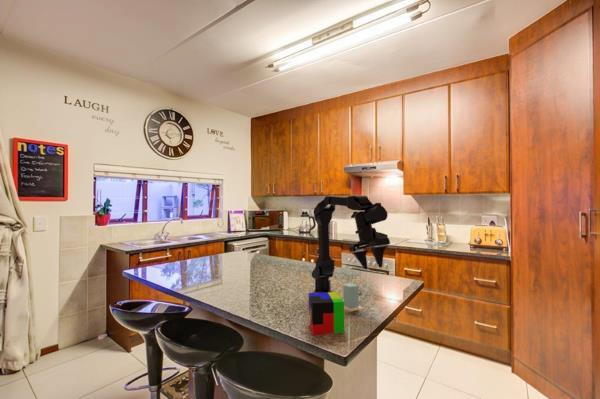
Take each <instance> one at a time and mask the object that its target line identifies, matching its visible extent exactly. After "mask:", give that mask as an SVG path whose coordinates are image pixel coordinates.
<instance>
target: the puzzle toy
mask: <svg viewBox="0 0 600 399" xmlns="http://www.w3.org/2000/svg"><path fill="white" fill-rule="evenodd" d="M308 322H309V326H310V329H311V334H312V336H327V334H341V333H342V334H343V333H346V332H345V314H344V301H343V300H342V297H341V295H340V294H339V292H338V291H337V292H336V291H334V292H332V291H331V292H330V291H329V292H328V293H324V292H309V293H308Z"/></svg>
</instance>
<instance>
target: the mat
mask: <svg viewBox="0 0 600 399" xmlns="http://www.w3.org/2000/svg"><path fill="white" fill-rule="evenodd" d="M341 298H342V297H341ZM342 300H343V301H344V297H343V298H342ZM365 309H366V307H363V306H362V305H359V310H355V311H348V310H346V309H345V308H344V315H345V314H349V313H353V312H357V311H362V310H365Z"/></svg>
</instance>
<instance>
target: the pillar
mask: <svg viewBox="0 0 600 399" xmlns="http://www.w3.org/2000/svg"><path fill="white" fill-rule="evenodd" d="M343 298H344V308H345V309H346V310H348V311H353V312H356V311H355V310H358V311H360V310H359V306H360V305H359V302H360V301H359V285H358V284H355V283H351V282H350V283H346V284H343Z"/></svg>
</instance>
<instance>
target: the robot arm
mask: <svg viewBox="0 0 600 399" xmlns="http://www.w3.org/2000/svg"><path fill="white" fill-rule="evenodd" d="M336 206H342V207H346V208H348V209H349V210H352V211H353V212H352V214H351V216H350V218H351V219H354V221H355V225H356V226H355V227H356V230H355V235H356V234H357V236H358V240H359V241H357V243H353V244H351V245H349V248H348V249H349V253H351V254H352V255H353V256H354V257H355V258H356V259H357V261H358V262H359V263H360V265H361V266H362V267H363V269H364V270H368V261H367V260H368V259H367V254H368V250H367V248H370V250H371V253H372V254H373V257H374V260H375V262H376V264H377V267H378V268H382V267H383V261H384V254H385V250H386V249H387V248H388V247H389V245H391V241H390V238H389V237H388V234H386V233H383V232H379V231H377V229H376V227H373V225H375V224H377V223H381V222H383V221H386V220H387V219H388V216H389V215H388V211H387V210H386V208H385V207H384V206H383V205H382V203H381V202H375V203H372V201H371V200H370V199H369V197H368V196H367V195H350V196H338V195H325V197H324V198H323V199H322V200H321V201H320V202H318V203H317V204H316V205H315V207H314V209H313V218H314V221H315V223H316V225H317V230H318V231H317V234H318V237H317V238H318V257H317V258H316V260H315V267H314V269H313V270H312V272H311V277H312V279H314V281H315V282H314V286H315V288H314V290H313V291H314V292H313V293H328V292H330V290H332V289H331V288H332V283H331V282H332V280H331V279H330V278H333V275H334V273H335V272H334V271H335V269H336V268H335V260H334V259H333V258H332V257H331V256H330V227H329V226H330V223H331V222H332V219H333V214H334V212H335V211H336Z"/></svg>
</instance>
